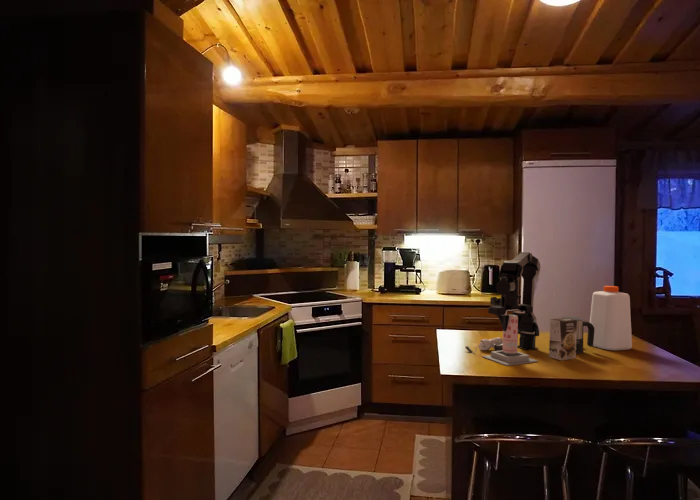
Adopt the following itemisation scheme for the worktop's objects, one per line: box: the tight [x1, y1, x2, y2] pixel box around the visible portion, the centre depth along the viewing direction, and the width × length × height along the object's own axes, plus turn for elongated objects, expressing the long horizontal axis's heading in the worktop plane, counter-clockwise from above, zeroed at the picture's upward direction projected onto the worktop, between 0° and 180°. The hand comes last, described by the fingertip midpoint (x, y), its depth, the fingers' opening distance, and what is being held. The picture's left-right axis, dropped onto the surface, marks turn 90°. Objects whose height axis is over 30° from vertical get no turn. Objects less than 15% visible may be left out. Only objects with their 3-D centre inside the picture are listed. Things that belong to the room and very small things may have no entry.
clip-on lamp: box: [464, 336, 503, 354], centre depth 200 cm, size 12×6×18 cm
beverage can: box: [502, 313, 519, 354], centre depth 188 cm, size 6×6×15 cm
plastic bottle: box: [589, 285, 633, 352], centre depth 213 cm, size 15×15×28 cm
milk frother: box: [560, 316, 595, 355], centre depth 207 cm, size 14×16×15 cm
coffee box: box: [548, 317, 577, 361], centre depth 192 cm, size 9×6×16 cm
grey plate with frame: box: [481, 350, 539, 367], centre depth 188 cm, size 16×14×2 cm
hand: (510, 330), depth 188 cm, fingers closed on beverage can, 6 cm apart
